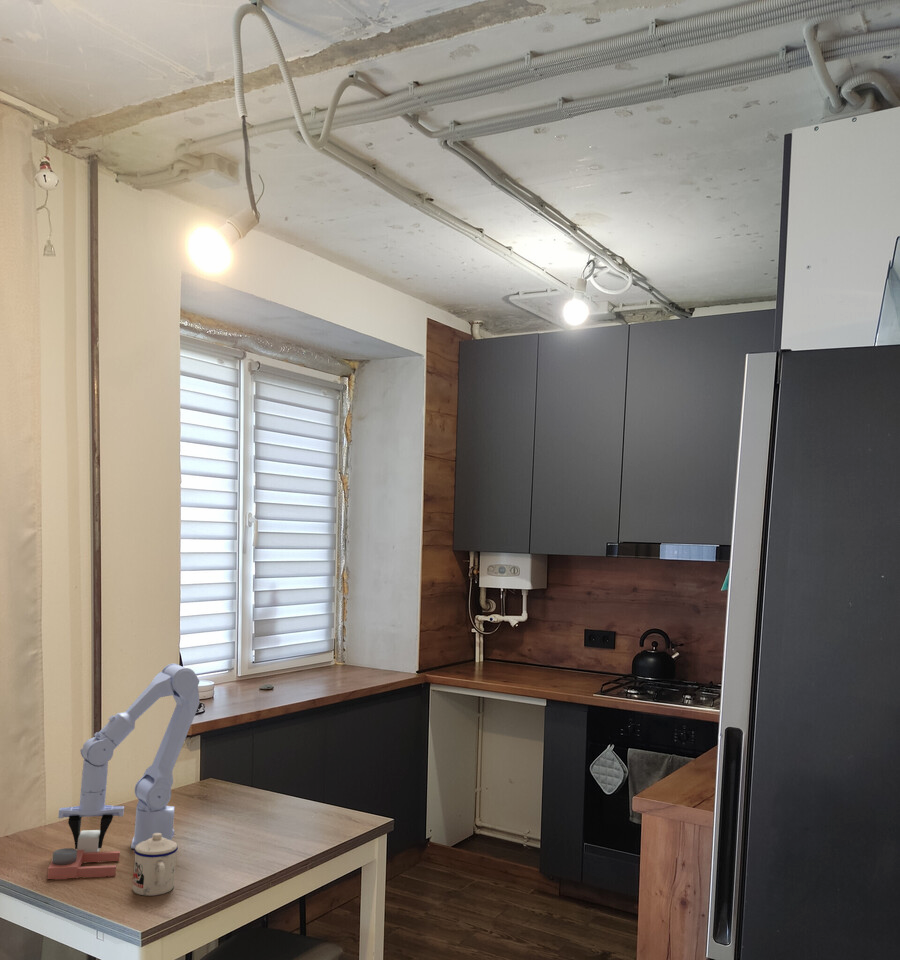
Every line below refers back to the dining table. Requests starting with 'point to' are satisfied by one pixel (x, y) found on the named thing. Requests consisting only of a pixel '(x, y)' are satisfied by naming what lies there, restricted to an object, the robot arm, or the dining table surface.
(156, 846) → the teacup with lid
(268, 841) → the dining table surface
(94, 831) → the white rectangular block
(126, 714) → the robot arm
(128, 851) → the dining table surface
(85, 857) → the pink u-shaped block
